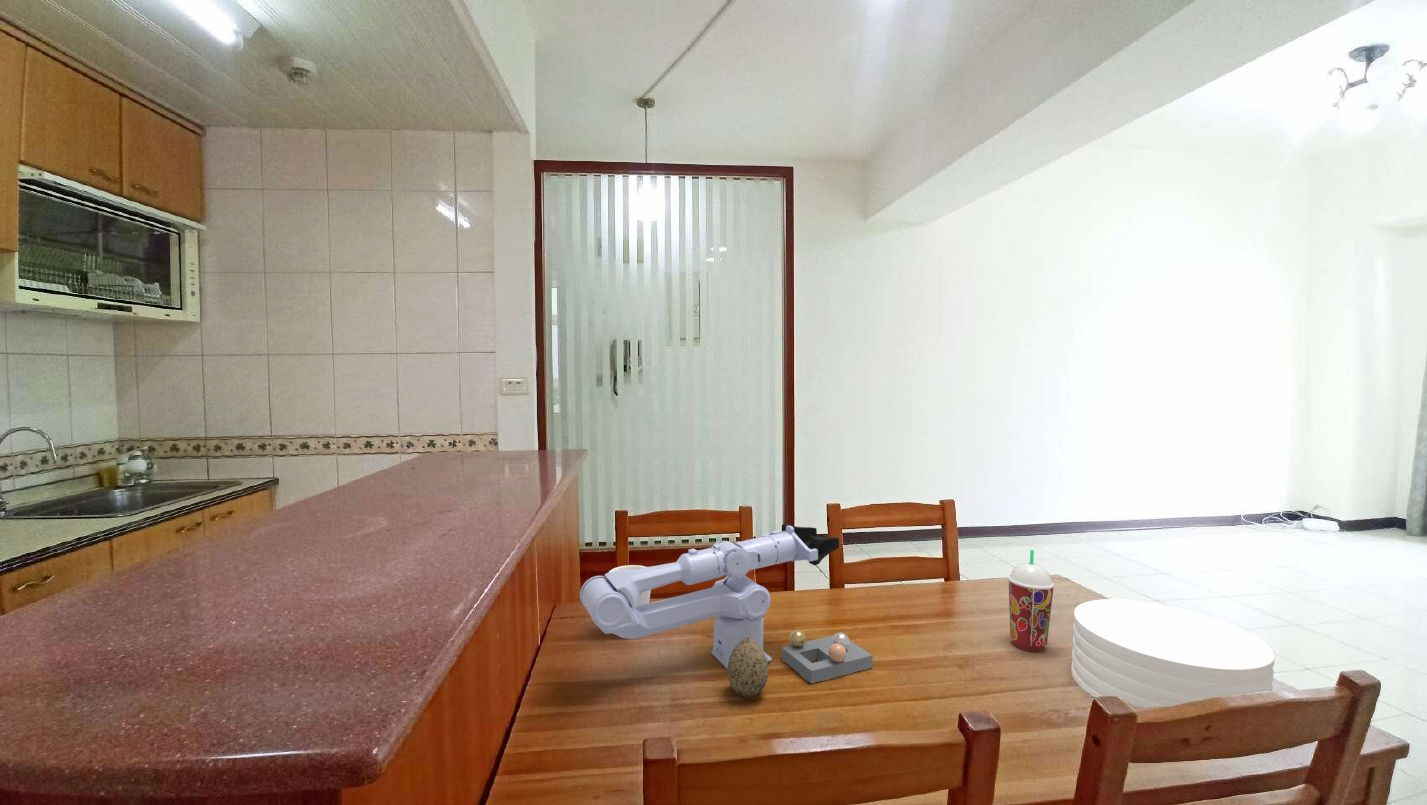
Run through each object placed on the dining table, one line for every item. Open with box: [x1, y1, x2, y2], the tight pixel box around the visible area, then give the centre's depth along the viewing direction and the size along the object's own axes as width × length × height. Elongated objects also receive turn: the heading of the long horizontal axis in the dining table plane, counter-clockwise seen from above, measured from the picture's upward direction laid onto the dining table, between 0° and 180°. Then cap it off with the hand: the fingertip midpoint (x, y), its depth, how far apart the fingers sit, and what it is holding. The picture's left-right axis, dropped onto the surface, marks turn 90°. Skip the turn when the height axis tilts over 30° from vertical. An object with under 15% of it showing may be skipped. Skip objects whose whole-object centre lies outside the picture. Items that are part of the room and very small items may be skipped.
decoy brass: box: [788, 629, 807, 647], centre depth 116 cm, size 3×3×3 cm
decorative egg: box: [726, 638, 769, 698], centre depth 103 cm, size 7×7×10 cm
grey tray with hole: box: [780, 634, 874, 684], centre depth 114 cm, size 14×10×2 cm
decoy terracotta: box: [829, 643, 846, 662], centre depth 111 cm, size 3×3×3 cm
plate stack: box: [1070, 598, 1276, 708], centre depth 106 cm, size 28×28×12 cm
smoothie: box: [1007, 549, 1055, 652], centre depth 123 cm, size 8×8×20 cm
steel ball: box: [833, 632, 850, 649], centre depth 115 cm, size 3×3×3 cm
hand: (826, 537), depth 124 cm, fingers open, 7 cm apart
